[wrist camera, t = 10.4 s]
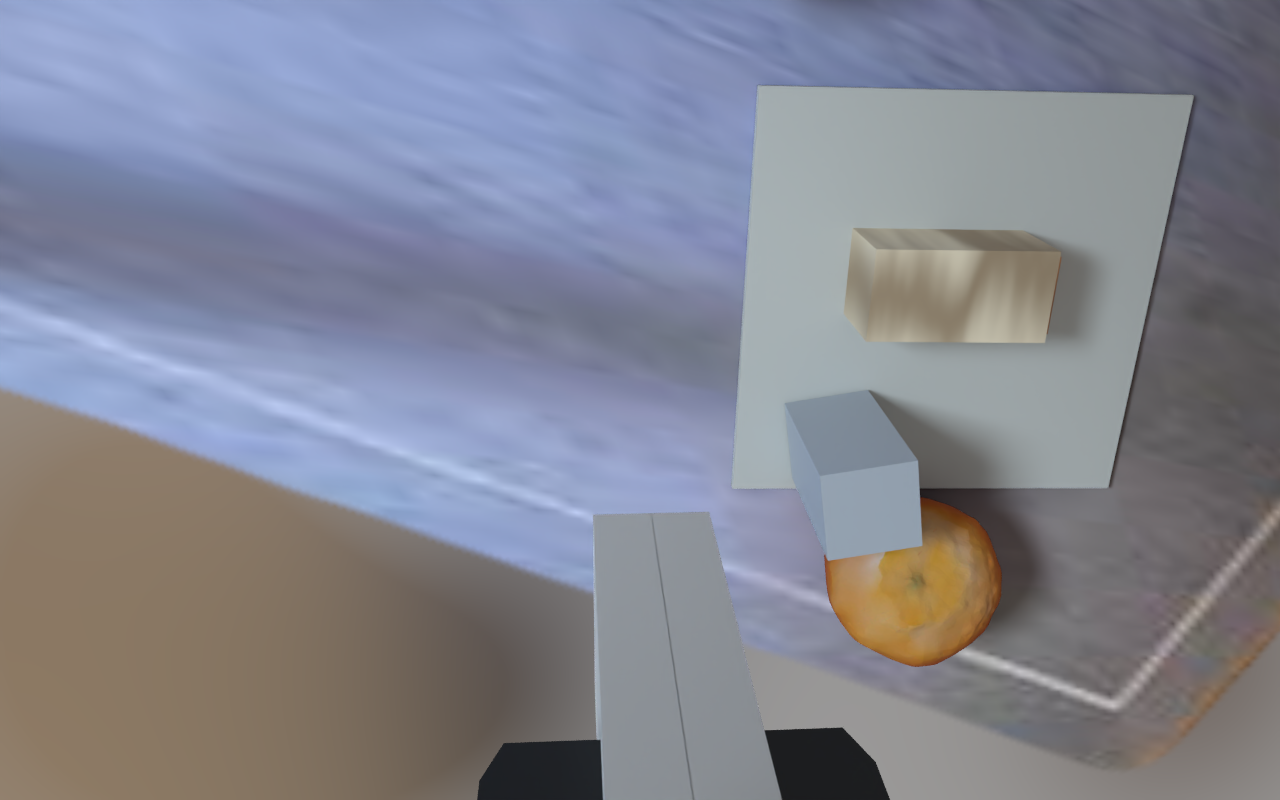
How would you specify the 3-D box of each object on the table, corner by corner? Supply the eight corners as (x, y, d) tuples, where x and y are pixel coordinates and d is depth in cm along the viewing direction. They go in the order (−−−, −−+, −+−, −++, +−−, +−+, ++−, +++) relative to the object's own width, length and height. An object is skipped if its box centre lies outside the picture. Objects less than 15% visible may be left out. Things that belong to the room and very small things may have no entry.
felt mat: (757, 84, 44) (759, 85, 43) (1188, 94, 45) (1194, 95, 45) (731, 484, 51) (732, 488, 51) (1104, 484, 52) (1108, 488, 52)
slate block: (783, 401, 49) (819, 476, 42) (867, 388, 49) (917, 460, 42) (791, 476, 50) (827, 560, 43) (872, 463, 50) (922, 545, 43)
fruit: (869, 675, 54) (875, 703, 46) (802, 536, 55) (797, 541, 47) (1013, 611, 53) (1044, 630, 45) (942, 472, 54) (960, 466, 46)
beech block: (1027, 230, 46) (852, 228, 46) (1066, 251, 43) (876, 249, 42) (1013, 315, 48) (843, 313, 47) (1049, 343, 44) (866, 341, 44)
